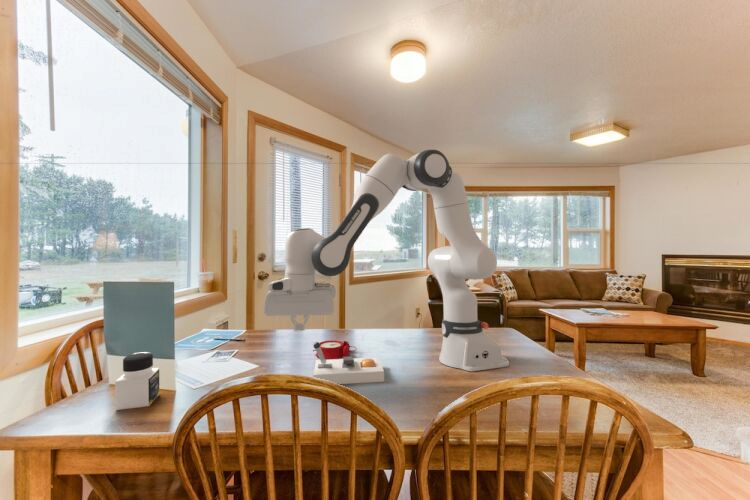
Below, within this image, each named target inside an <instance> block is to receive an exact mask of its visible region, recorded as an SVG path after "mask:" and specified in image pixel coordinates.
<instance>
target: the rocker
mask: <svg viewBox="0 0 750 500" xmlns="http://www.w3.org/2000/svg"><path fill="white" fill-rule="evenodd" d="M353 358H354V356H351V355H350V356H348V357H342V359H343V364H354V359H353Z"/></svg>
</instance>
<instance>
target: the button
mask: <svg viewBox="0 0 750 500" xmlns="http://www.w3.org/2000/svg"><path fill="white" fill-rule="evenodd" d="M364 367H374V360H373V359H364V360H362V368H364Z"/></svg>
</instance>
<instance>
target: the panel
mask: <svg viewBox="0 0 750 500" xmlns="http://www.w3.org/2000/svg"><path fill="white" fill-rule="evenodd" d="M353 359H354V364H343V358H337V359H325V360H326V363H325V364H323V365H322V363H321V361H320V359H315V364H314V369H313V374H312V375H313V376H312V378H313V377H316V378H320V379H325V380H329V381H332V382H335V383H338V384H337V385H347V384H348V385H349V384H350V385H352V384H365V383H366V384H367V383H382V382H385V370H384V367H383V365H382V363H381V360H380V357H379V356H377V357H357V358H354V357H353ZM364 359H373V360H374V367H364V368H362V360H364Z"/></svg>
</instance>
